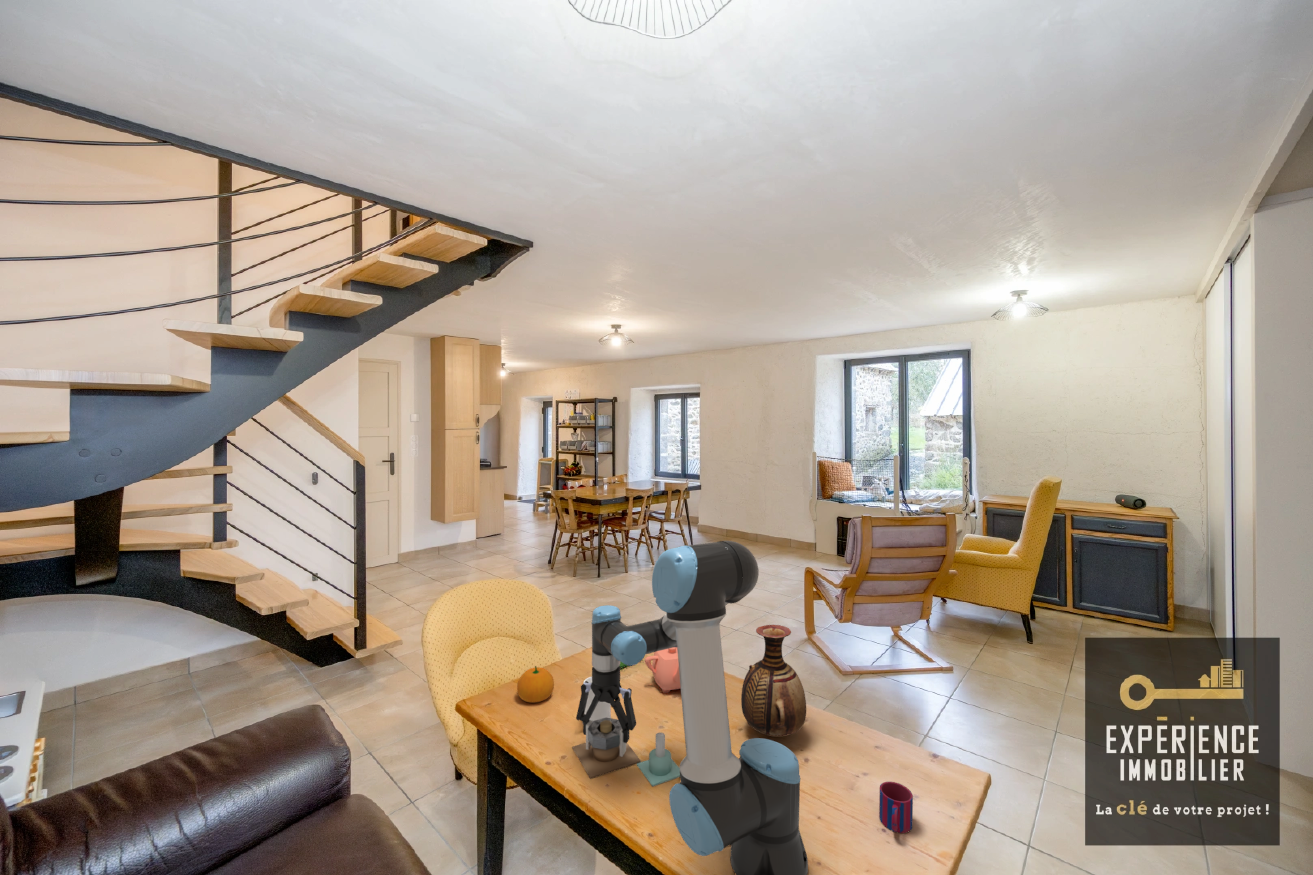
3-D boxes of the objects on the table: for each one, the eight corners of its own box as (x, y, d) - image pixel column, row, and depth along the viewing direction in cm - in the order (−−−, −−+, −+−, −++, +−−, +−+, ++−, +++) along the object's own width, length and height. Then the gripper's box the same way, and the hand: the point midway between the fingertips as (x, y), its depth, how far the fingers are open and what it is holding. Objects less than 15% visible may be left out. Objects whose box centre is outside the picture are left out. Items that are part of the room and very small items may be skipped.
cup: (914, 818, 116) (914, 788, 116) (907, 848, 108) (908, 816, 108) (882, 806, 120) (882, 777, 120) (873, 834, 111) (873, 803, 111)
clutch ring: (627, 732, 141) (627, 721, 141) (615, 751, 132) (615, 740, 132) (597, 726, 144) (597, 715, 144) (583, 745, 135) (583, 733, 135)
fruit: (510, 696, 168) (510, 665, 168) (542, 684, 176) (542, 655, 176) (528, 711, 159) (528, 678, 159) (561, 697, 167) (561, 667, 167)
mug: (588, 739, 145) (588, 696, 145) (568, 728, 150) (568, 687, 150) (617, 720, 154) (617, 680, 154) (597, 710, 160) (597, 672, 159)
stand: (684, 775, 130) (684, 739, 130) (652, 786, 126) (652, 749, 126) (667, 755, 138) (667, 721, 138) (636, 765, 134) (636, 730, 134)
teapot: (660, 670, 186) (661, 634, 186) (702, 679, 180) (702, 642, 179) (639, 692, 171) (639, 652, 171) (684, 702, 164) (684, 661, 164)
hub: (641, 762, 135) (641, 730, 135) (590, 778, 129) (590, 745, 128) (619, 733, 147) (619, 704, 147) (572, 747, 141) (572, 717, 141)
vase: (804, 763, 135) (805, 649, 134) (734, 749, 141) (735, 639, 140) (807, 719, 155) (808, 620, 154) (747, 709, 161) (747, 613, 160)
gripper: (649, 665, 138) (649, 749, 138) (575, 654, 144) (575, 734, 145) (640, 678, 131) (639, 766, 131) (562, 666, 137) (562, 750, 138)
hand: (605, 749), depth 138 cm, fingers closed on clutch ring, 9 cm apart
